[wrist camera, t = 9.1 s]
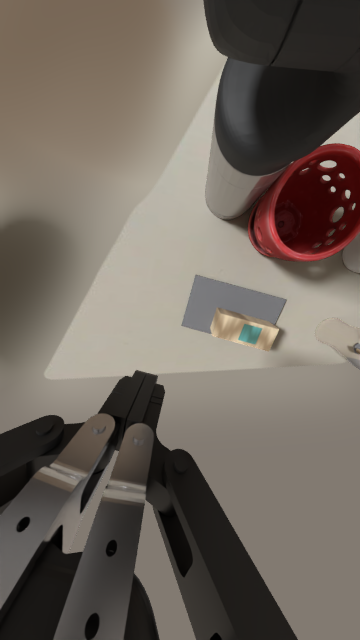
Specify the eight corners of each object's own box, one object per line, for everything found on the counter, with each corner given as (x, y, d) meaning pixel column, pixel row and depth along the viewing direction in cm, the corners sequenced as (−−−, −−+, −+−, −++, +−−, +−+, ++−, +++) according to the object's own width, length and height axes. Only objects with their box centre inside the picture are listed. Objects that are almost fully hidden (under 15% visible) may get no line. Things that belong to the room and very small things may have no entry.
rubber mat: (195, 274, 37) (195, 274, 37) (285, 299, 37) (286, 299, 36) (181, 325, 41) (181, 325, 40) (262, 347, 41) (263, 348, 40)
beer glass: (306, 340, 39) (369, 383, 25) (321, 312, 37) (399, 341, 23) (336, 347, 39) (416, 395, 25) (353, 319, 37) (450, 354, 23)
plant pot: (242, 264, 36) (263, 264, 24) (245, 190, 32) (272, 148, 20) (309, 259, 34) (365, 257, 23) (321, 181, 30) (396, 131, 19)
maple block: (220, 313, 33) (279, 329, 33) (217, 307, 38) (269, 321, 38) (212, 336, 35) (269, 351, 35) (210, 327, 40) (260, 341, 40)
